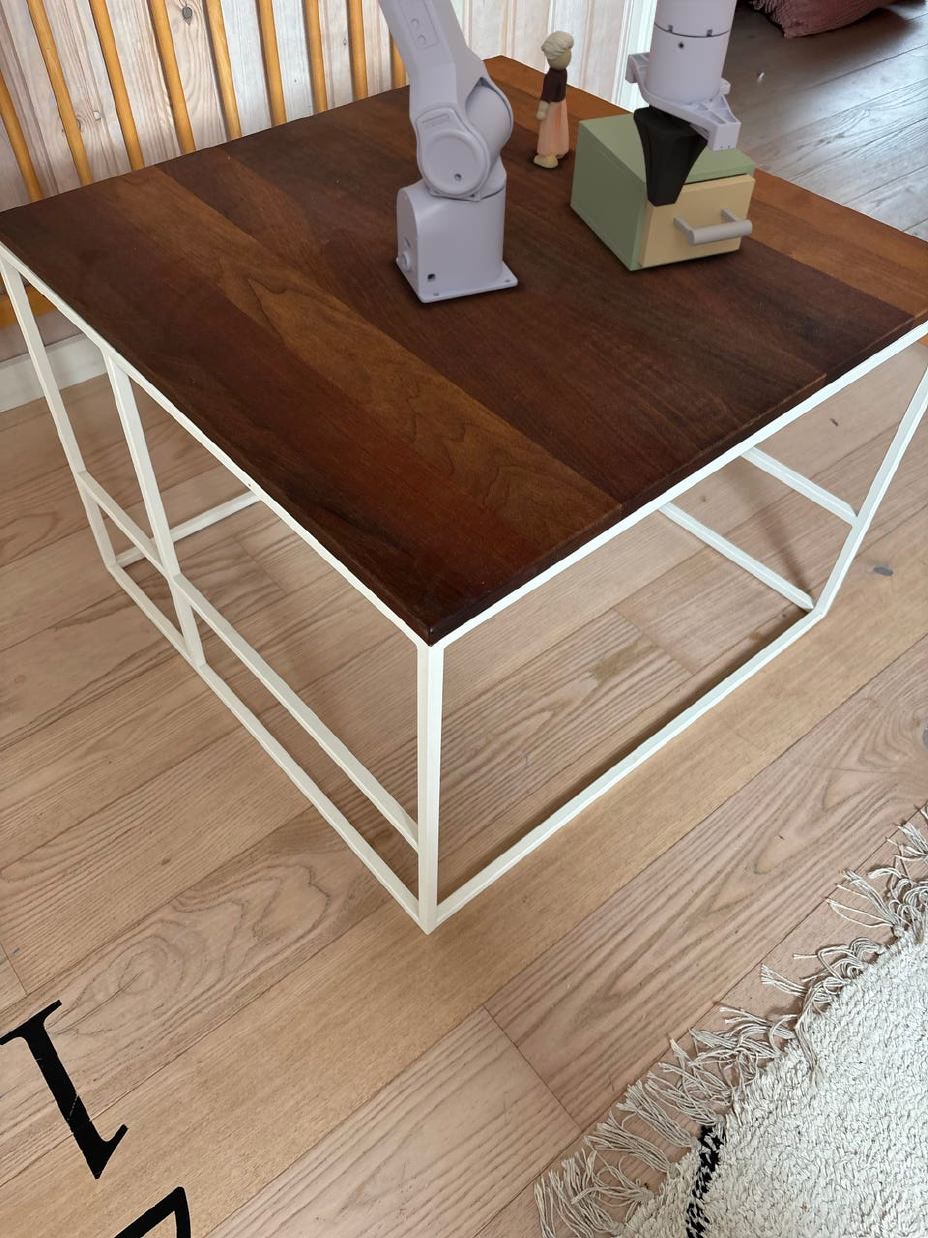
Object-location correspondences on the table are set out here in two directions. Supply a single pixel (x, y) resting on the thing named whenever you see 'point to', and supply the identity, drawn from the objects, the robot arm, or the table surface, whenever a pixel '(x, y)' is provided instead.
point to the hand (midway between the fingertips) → (661, 201)
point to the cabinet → (629, 181)
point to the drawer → (698, 221)
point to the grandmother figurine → (554, 101)
